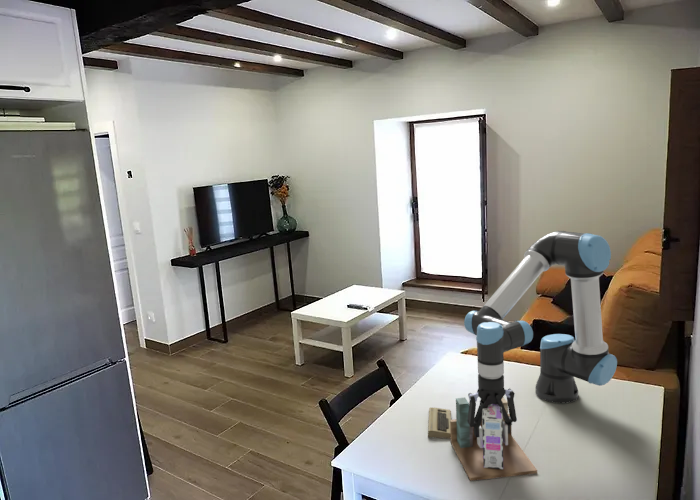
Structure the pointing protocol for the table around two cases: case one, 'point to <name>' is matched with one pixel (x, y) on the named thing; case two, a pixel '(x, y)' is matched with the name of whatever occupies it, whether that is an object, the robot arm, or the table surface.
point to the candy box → (492, 436)
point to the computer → (439, 423)
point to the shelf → (473, 454)
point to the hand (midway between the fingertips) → (492, 444)
